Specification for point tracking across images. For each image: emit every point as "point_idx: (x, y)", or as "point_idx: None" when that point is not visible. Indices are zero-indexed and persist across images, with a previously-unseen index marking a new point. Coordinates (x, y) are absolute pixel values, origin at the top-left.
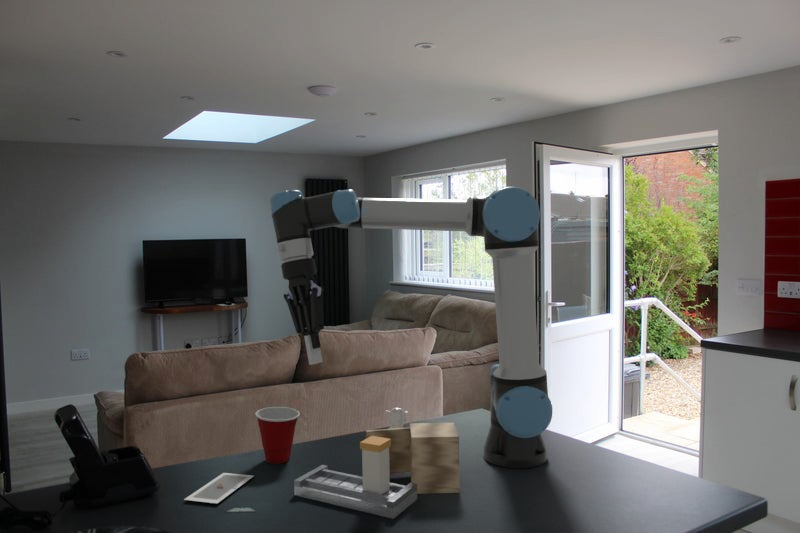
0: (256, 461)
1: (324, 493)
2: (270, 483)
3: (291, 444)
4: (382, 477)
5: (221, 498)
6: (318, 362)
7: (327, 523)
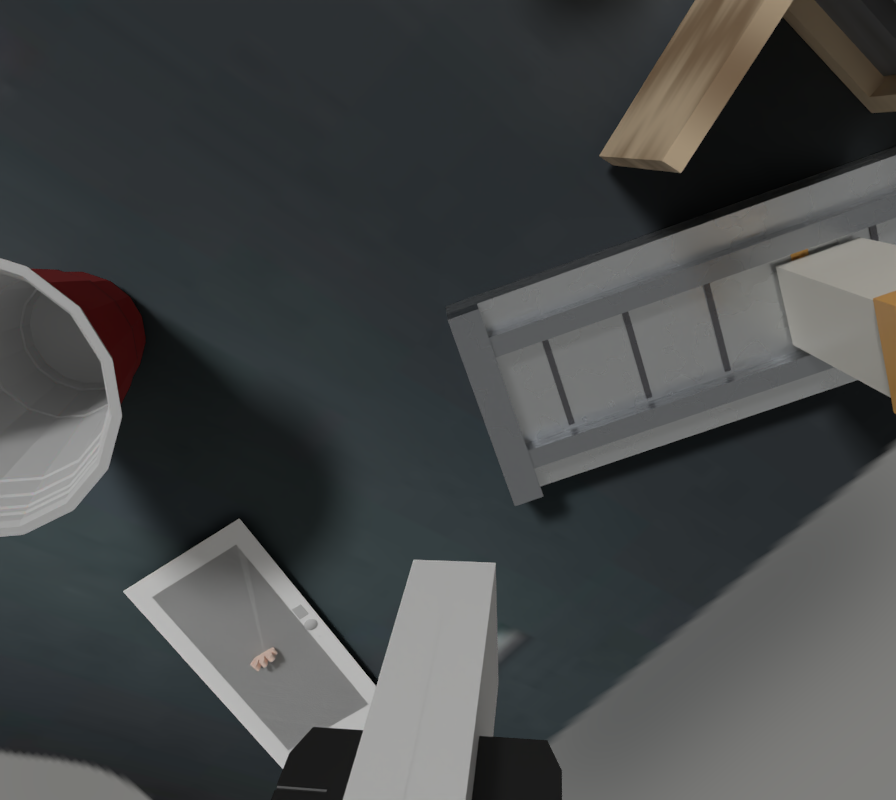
0: None
1: (658, 445)
2: (335, 490)
3: (113, 303)
4: None
5: (368, 689)
6: (496, 621)
7: (786, 514)
